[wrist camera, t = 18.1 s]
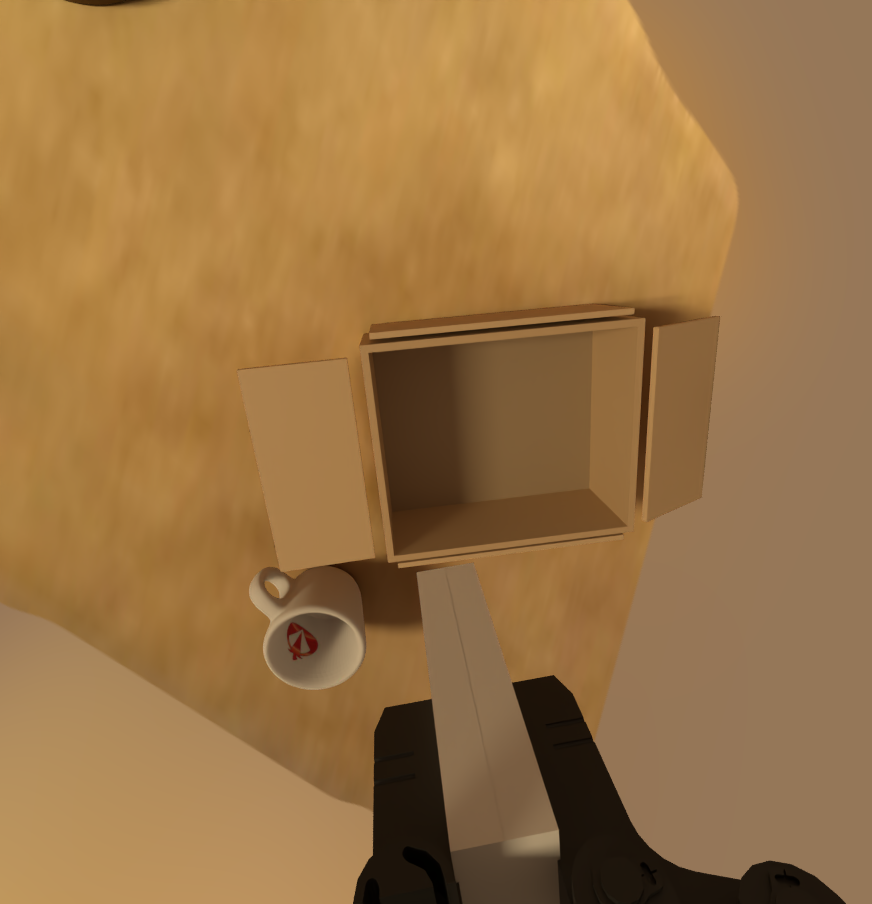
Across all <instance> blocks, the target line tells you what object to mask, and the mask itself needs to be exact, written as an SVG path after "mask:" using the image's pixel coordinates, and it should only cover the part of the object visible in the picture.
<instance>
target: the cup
mask: <svg viewBox="0 0 872 904" xmlns="http://www.w3.org/2000/svg"><path fill="white" fill-rule="evenodd" d="M265 581H269V582H271V583H273V584H274V585H275V586H276V587H277V589H278V591H279V594H280V598H276V597H274V596H272V595H271V594H270V593H269V592H268V591H267V590H266V588H265V584H264V582H265ZM249 595H250V598H251V600H252V602H253V603H254V605H255V606H256V607H257V608H258V609H259V610H260V611H261V612H263V613H264V614H265V615H266V616H267V617H269V619H270V626H269V628H268V630H267V633H266V635H265V638H264V644H263V652H264V657H265V660H266V663H267V665H268V667H269V668H270V670H271V671H272V672H273V673H274V674H275V675H276V676H277V677H278V678H279V679H281V680H282V681H284V682H285V683H287V684H289V685H292V686H294V687H297V688H302V689H309V690H319V689H326V688H330V687H333V686H336V685H338V684H341V683H343V682H344V681H346V680H347V679H349V678H350V677H351V676H352V675H353V674H355V672H356V671H357V670H358V669H359V667H360V666H361V664H362V662H363V660H364V657H365V653H366V636H365V626H364V616H363V606H362V598H361V593H360V590H359V587H358V585H357V583H356V582H355V580H354V579H353V578H352V577H351V576H350V575H349V574H348V573H347V572H345V571H343V570H341V569H339V568H336V567H332V566H319V567H314V568H311V569H308V570H306V571H305V572H303V573H301V574H300V575H299V576H298V577H297V578H296V579H293V578H291V577H290V576H288V575H287V574H285V573H284V572H280V570H279V569H277V568H274V567H267V568H264V569H262V570H261V571H260V572H259V573H258V574H257V575H256V576H255V577H254V578H253V580H252V582H251V584H250V588H249Z"/></svg>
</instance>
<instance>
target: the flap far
mask: <svg viewBox="0 0 872 904" xmlns="http://www.w3.org/2000/svg"><path fill="white" fill-rule="evenodd" d="M719 322H720V316H712V317H707V318H701V319H696V320H691V321H685V322H680V323H674V324H669V325H663V326H658V327H653V344H652V360H651V377H650V393H649V409H648V426H647V442H646V459H645V475H644V492H643V508H642V520H643V521H645V522H648V521H650V520H653V519H655V518H657V517H659V516H661V515H664V514H666V513H668V512H670V511H672V510H675V509H677V508H679V507H682V506H683V505H686V504H688V503H691V502H693V501H695V500H697V499H699V498H701V497H702V486H703V477H704V467H705V458H706V448H707V439H708V428H709V418H710V410H711V400H712V390H713V380H714V371H715V361H716V352H717V341H718V332H719Z"/></svg>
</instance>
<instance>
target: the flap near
mask: <svg viewBox="0 0 872 904" xmlns="http://www.w3.org/2000/svg"><path fill="white" fill-rule="evenodd" d="M237 374H238V379H239V383H240V388H241V393H242V397H243V402H244V406H245V411H246V416H247V420H248V425H249V429H250V434H251V439H252V443H253V448H254V452H255V457H256V462H257V466H258V471H259V475H260V480H261V485H262V489H263V494H264V498H265V503H266V507H267V512H268V517H269V521H270V526H271V530H272V535H273V540H274V544H275V549H276V553H277V558H278V563H279V567H280V572H285V571H292V570H299V569H305V568H312V567H318V566H325V565H331V564H338V563H344V562H351V561H358V560H364V559H371V558H375V552H374V545H373V538H372V531H371V524H370V517H369V510H368V503H367V496H366V489H365V482H364V475H363V468H362V461H361V454H360V447H359V440H358V433H357V426H356V419H355V412H354V405H353V398H352V390H351V383H350V376H349V369H348V362H347V358H339V359H330V360H320V361H311V362H301V363H292V364H282V365H273V366H263V367H254V368H244V369H238V370H237Z"/></svg>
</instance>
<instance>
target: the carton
mask: <svg viewBox="0 0 872 904" xmlns="http://www.w3.org/2000/svg"><path fill="white" fill-rule="evenodd" d="M634 309H635V308H630V307H620V306H610V305H599V304H585V305H574V306H564V307H553V308H542V309H532V310H521V311H510V312H500V313H489V314H479V315H468V316H457V317H447V318H436V319H425V320H415V321H404V322H394V323H383V324H372V325H371V328H370V331H369V333H366V334H364V335H363V337H362V340H361V343H360V345H359V347H360V354H361V362H362V369H363V377H364V384H365V392H366V399H367V407H368V414H369V422H370V430H371V437H372V445H373V452H374V460H375V467H376V475H377V482H378V490H379V497H380V505H381V512H382V520H383V527H384V535H385V542H386V550H387V557H388V563H391V562H398V568H404V567H412V566H420V565H428V564H435V563H443V562H451V561H459V560H466V559H474V558H482V557H490V556H497V555H505V554H513V553H521V552H529V551H536V550H544V549H552V548H560V547H567V546H575V545H583V544H591V543H598V542H606V541H614V540H622V539H624V535H623V533H625V532H633V531H634V519H635V501H636V482H637V464H638V446H639V428H640V410H641V392H642V374H643V356H644V338H645V320H646V318H642V317H634V316H627V315H631V314H634Z"/></svg>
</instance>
